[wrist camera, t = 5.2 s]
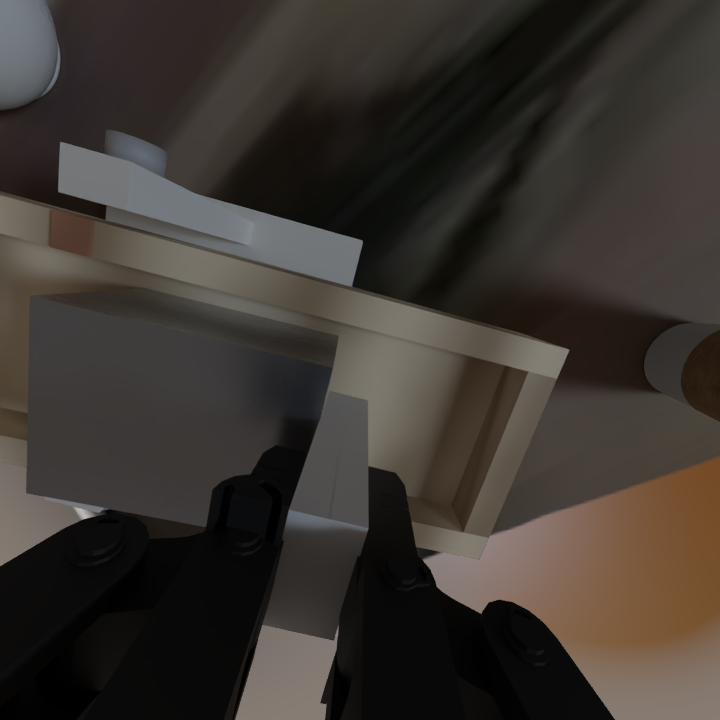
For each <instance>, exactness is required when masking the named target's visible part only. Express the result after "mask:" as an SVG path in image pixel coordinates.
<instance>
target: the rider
mask: <svg viewBox="0 0 720 720" xmlns="http://www.w3.org/2000/svg"><path fill="white" fill-rule="evenodd" d="M338 339H339V336H337V335H333V334H329V333H325V332H321V331H317V330H313V329H309V328H305V327H301V326H297V325H293V324H289V323H285V322H281V321H277V320H273V319H269V318H265V317H261V316H256V315H252V314H248V313H244V312H240V311H236V310H232V309H228V308H224V307H220V306H216V305H212V304H208V303H204V302H200V301H196V300H192V299H188V298H184V297H180V296H176V295H172V294H167V293H163V292H159V291H155V290H151V289H147V288H139V289H124V290H109V291H94V292H78V293H63V294H48V295H33V296H30V308H29V367H28V426H27V485H26V487H27V488H26V493H28V494H34V495H39V496H44V497H49V498H55V499H60V500H65V501H71V502H76V503H81V504H87V505H92V506H97V507H102V508H108V509H113V510H118V511H124V512H129V513H134V514H140V515H145V516H150V517H155V518H161V519H166V520H171V521H177V522H182V523H187V524H193V525H198V526H203V527H206V524H207V519H208V513H209V507H210V501H211V495H212V489H213V488H215V487H216V486H217V485H218V484H219V483H220V482H221V481H223V480H226V479H228V478H231V477H233V476H239V475H247V474H251V472H252V471H253V469H254V467H255V466H256V464H257V462H258V461H259V459H260V457H261V456H262V454H263V452H265V451H267V450H269V449H270V448H272V447H274V446H275V445H278V446H282V447H286V448H290V449H295V450H299V451H303V452H307V453H309V450H310V447H311V444H312V441H313V438H314V435H315V432H316V429H317V426H318V423H319V420H320V419H321V415H322V411H323V407H324V403H325V399H326V394H327V390H328V386H329V382H330V378H331V374H332V370H333V365H334V360H335V355H336V349H337V344H338Z"/></svg>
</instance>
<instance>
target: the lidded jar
mask: <svg viewBox="0 0 720 720" xmlns="http://www.w3.org/2000/svg"><path fill="white" fill-rule="evenodd" d="M60 65H61V53H60V47H59V43H58V39H57V36H56V31H55V26H54V22H53V19H52V15H51V12H50V10H49V8H48V5H47V3H46V0H0V111H3V110H9V109H14V108H19V107H22V106H25V105H27V104H29V103H31V102H32V101H34V100H36V99H38V98H41V97H43V96H44V95H46V94H47V93H48V92H49V91H50V90H51V89H52V87H53V86H54V85H55V83H56V81H57V78H58V76H59V72H60Z"/></svg>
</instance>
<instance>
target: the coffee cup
mask: <svg viewBox="0 0 720 720" xmlns="http://www.w3.org/2000/svg"><path fill="white" fill-rule="evenodd" d="M644 372H645V375H646V378H647V380H648V382H649V383H650V384H651V386H653V387H654V388H655V389H656V390H658V391H660V392H662V393H664V394H666V395H668V396H670V397H672V398H674V399H676V400H678V401H681V402H683V403H685V404H687V405H689V406H691V407H693V408H695V409H696V410H698V411H700V412H702V413H704V414H706V415H708V416H710V417H712V418H714V419H716V420H718V421H720V325H718V324H702V323H685V324H680V325H677V326H674V327H672V328H670V329H668V330H666V331H664V332H663V333H662V334H660V335H659V336H658V337H657V338H656V339H655V340H654V341H653V343H652V344H651V345H650V347H649V349H648V351H647V353H646V356H645V360H644Z"/></svg>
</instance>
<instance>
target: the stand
mask: <svg viewBox="0 0 720 720" xmlns="http://www.w3.org/2000/svg"><path fill="white" fill-rule="evenodd" d="M166 163H167V152H165V151H164V150H162V149H160V148H159V147H157V146H155V145H153V144H150V143H148V142H146V141H143V140H141V139H138V138H136V137H133V136H130V135H127V134H124V133H121V132H117V131H113V130H106V137H105V151H104V154H102V153H98V152H95V151H91V150H88V149H84V148H81V147H77V146H73V145H70V144H66V143H63V142H60V159H59V181H58V192H61V193H64V194H68V195H71V196H75V197H78V198H82V199H85V200H89V201H92V202H96V203H100V204H103V205H107V207H106V220H108V221H111V222H115V223H119V224H122V225H126V226H130V227H133V228H137V229H141V230H144V231H148V232H152V233H155V234H159V235H163V236H166V237H170V238H174V239H177V240H181V241H185V242H188V243H192V244H196V245H200V246H203V247H207V248H211V249H214V250H218V251H222V252H225V253H229V254H233V255H236V256H240V257H244V258H247V259H251V260H255V261H258V262H262V263H266V264H269V265H273V266H277V267H280V268H284V269H288V270H291V271H295V272H299V273H302V274H306V275H310V276H313V277H317V278H321V279H324V280H328V281H332V282H335V283H339V284H343V285H346V286H350V287H352V283H353V279H354V275H355V271H356V267H357V264H358V260H359V256H360V252H361V248H362V244H363V241H362V240H358V239H355V238H351V237H348V236H344V235H340V234H337V233H333V232H330V231H326V230H323V229H319V228H315V227H312V226H308V225H305V224H301V223H298V222H294V221H291V220H287V219H283V218H280V217H276V216H273V215H269V214H266V213H262V212H258V211H255V210H251V209H248V208H244V207H241V206H237V205H234V204H230V203H226V202H223V201H219V200H216V199H212V198H209V197H205V196H201V195H198V194H195V193H193V192H191V191H189V190H187V189H185V188H183V187H181V186H179V185H177V184H175V183H173V182H171V181H169V180H167V179H165V172H166ZM44 500H47V501H52V502H56V503H60V504H64V505H68V506H73V507H77V508H81V509H85V510H90V511H94V512H98V513H99V512H100V511H102V510H107V509H108V508H102V507H97V506H92V505H87V504H81V503H76V502H71V501H65V500H60V499H55V498H49V497H44Z"/></svg>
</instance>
